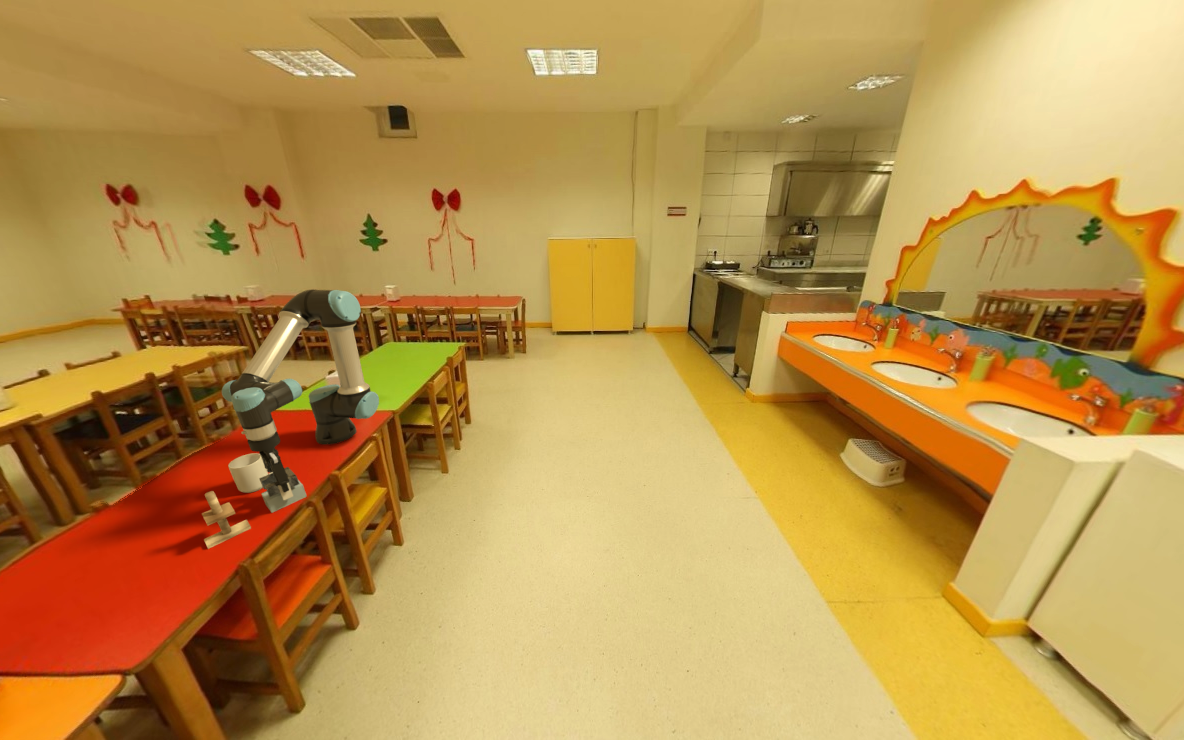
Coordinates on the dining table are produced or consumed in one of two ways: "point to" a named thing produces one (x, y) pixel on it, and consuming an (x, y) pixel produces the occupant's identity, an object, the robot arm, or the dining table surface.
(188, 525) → the dining table surface
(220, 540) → the stand
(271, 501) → the block
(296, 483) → the c link
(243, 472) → the mug
